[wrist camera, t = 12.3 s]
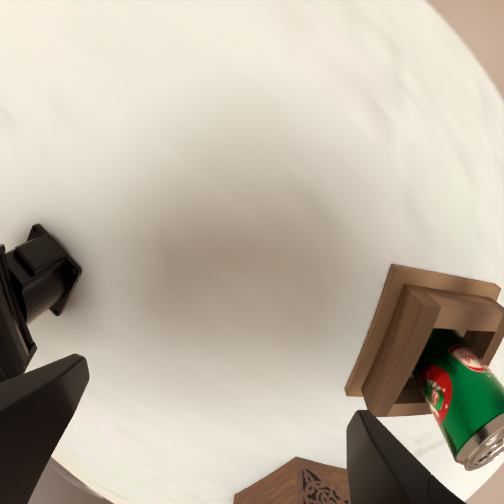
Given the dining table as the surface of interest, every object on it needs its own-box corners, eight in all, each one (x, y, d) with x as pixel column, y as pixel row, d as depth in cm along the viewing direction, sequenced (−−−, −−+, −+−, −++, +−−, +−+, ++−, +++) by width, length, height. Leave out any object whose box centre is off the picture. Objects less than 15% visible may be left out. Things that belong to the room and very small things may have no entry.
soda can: (462, 334, 20) (533, 424, 9) (424, 375, 22) (476, 475, 10) (433, 308, 20) (517, 411, 8) (392, 355, 21) (446, 473, 10)
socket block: (344, 388, 23) (353, 425, 19) (391, 263, 20) (416, 288, 16) (445, 388, 23) (461, 416, 19) (495, 284, 20) (523, 304, 15)
